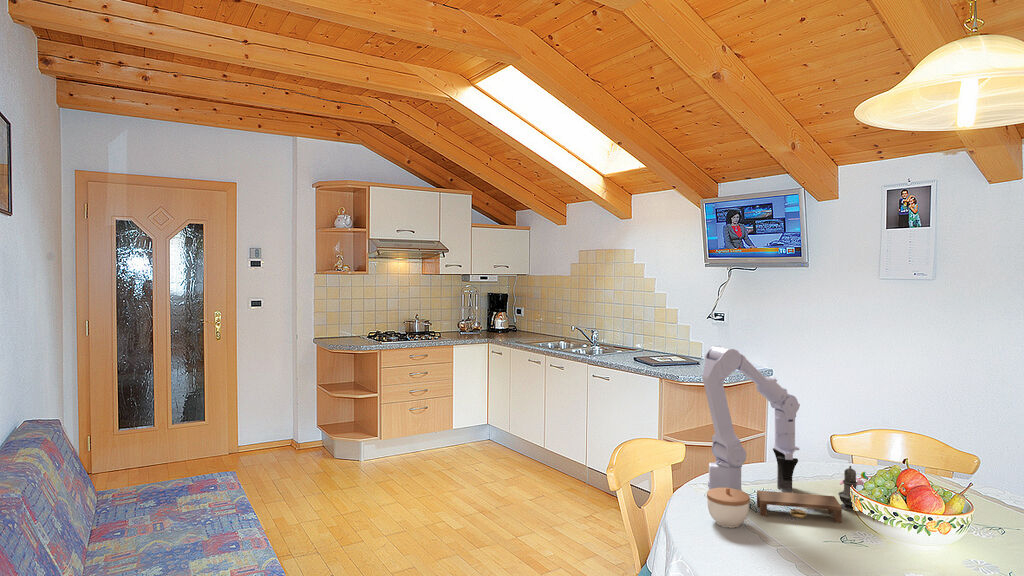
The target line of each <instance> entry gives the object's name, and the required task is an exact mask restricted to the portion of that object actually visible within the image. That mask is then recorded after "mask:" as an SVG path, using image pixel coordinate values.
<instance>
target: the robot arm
mask: <svg viewBox="0 0 1024 576" xmlns="http://www.w3.org/2000/svg"><path fill="white" fill-rule="evenodd" d="M703 357H704V361H705V362H704V368H703V373H702V381H703V385H704V387H703V388H704V391H705V394H706V395H705V396H706V400H707V403H708V408H709V413H710V416H711V421H712V425H713V429H714V434H713V435H712V436H711V440H712V441H711V442H712V444H711V453H712V456H714V457H715V462H708V481H707V487H708V490H710V489H713V488H733V489H737V490H741V491H743V488H742V467H743V465H744V463H745V462H746V460H747V451H746V450H745V448H744V447H743V445H742V443H741V440H740V438H739V437H738V436H737V434H736V433H735V430H734V426H733V420H732V418H731V414H730V413H731V412H730V409H729V408H730V407H729V404H728V400H727V394H726V391H725V387H724V381H725V380H726V378H727V377H729V376H730V375H731V374H732V373H733V372H735V371H739V372H740V373H741V374H742V375H744V376H745V377H746V378H747V379H749V380H750V381H751V382H753V383H754V384H755V385H756V388H755V389H756V391H757V392H758V393H759V394H760V395H761V396H762V397H763V398H765V399H766V400H767V401H768V402H769V404H770V406H771V408H772V409H774V445H773V448H772V451H773V453H774V455H775V459H776V462H777V465H780V466H781V470H782V477H783V480H784V481H791V479H792V480H793V475H794V470H795V468H796V466H797V464H798V462H799V459H798V458H796V457H795V458H794V457H793V456H794V453H795V452H796V451H800V447H799V446H797V445H796V418H797V412H798V411H799V409H800V406H801V404H800V403H799V401H798V399H797V397H796V396H794V395H793V394H790V393H789V392H788V389H787V388H785V387H782V386H781V385H780V384H779V383H778V380H777V378H776V377H775V378H774V377H770V376H764V375H763V374H762V373H761V372H760V371H759V370H758V369H757V368H756V367H755V366H754V365H753V364H752V363H751V362H750V361H749V360H748V359H747V357H746V356H745V355H743V354H742V353H740V352H739V351H738V350H737V349H734V348H727V347H722V346H720V345H714V346H712V347H710V348H709V349H708V351H707V352H706V353H705V355H704V356H703Z"/></svg>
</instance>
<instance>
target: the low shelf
mask: <svg viewBox="0 0 1024 576" xmlns="http://www.w3.org/2000/svg"><path fill="white" fill-rule="evenodd" d="M769 505H770V506H779V507H793V508H804V509H805V508H806V509H815V510H827V512H828V514H833V517H832V518H833V522H834V523H837V524H838V523H839V524H841V523H842V520H843V519H842V515H843V514H842V512H843V511H842V510H843V509H842V507H841V503H839V501H838V500H837V498H836V497H835V495H824V494H811V493H810V494H808V493H798V492H797V493H796V492H793V493H786V492H781V491H771V490H770V491H769V490H758V489H757V490H756V507H757V508H759V515H760V517H768V506H769Z"/></svg>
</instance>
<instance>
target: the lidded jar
mask: <svg viewBox="0 0 1024 576" xmlns="http://www.w3.org/2000/svg"><path fill="white" fill-rule="evenodd" d="M750 497H751V496H750V495H749V494H748V492H745V491H743V490H742V491H741V490H737V489H733V488H713V489H710V490H709V489H708V490H707V491H706V498H707V501H706V503H707V509H708V512H709V514H710V516H711V518H712V519H713V520H714V521H715V523H716V524H717V525H718V524H719V525H718V526H720V525H721V526H720V527H723V528H727V527H729V528H731V529H735V527H736V528H739V527H740V526H741V524H743V523H744V522H745V521H746V519H747V518H748V515H749V509H750V499H751V498H750Z"/></svg>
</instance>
